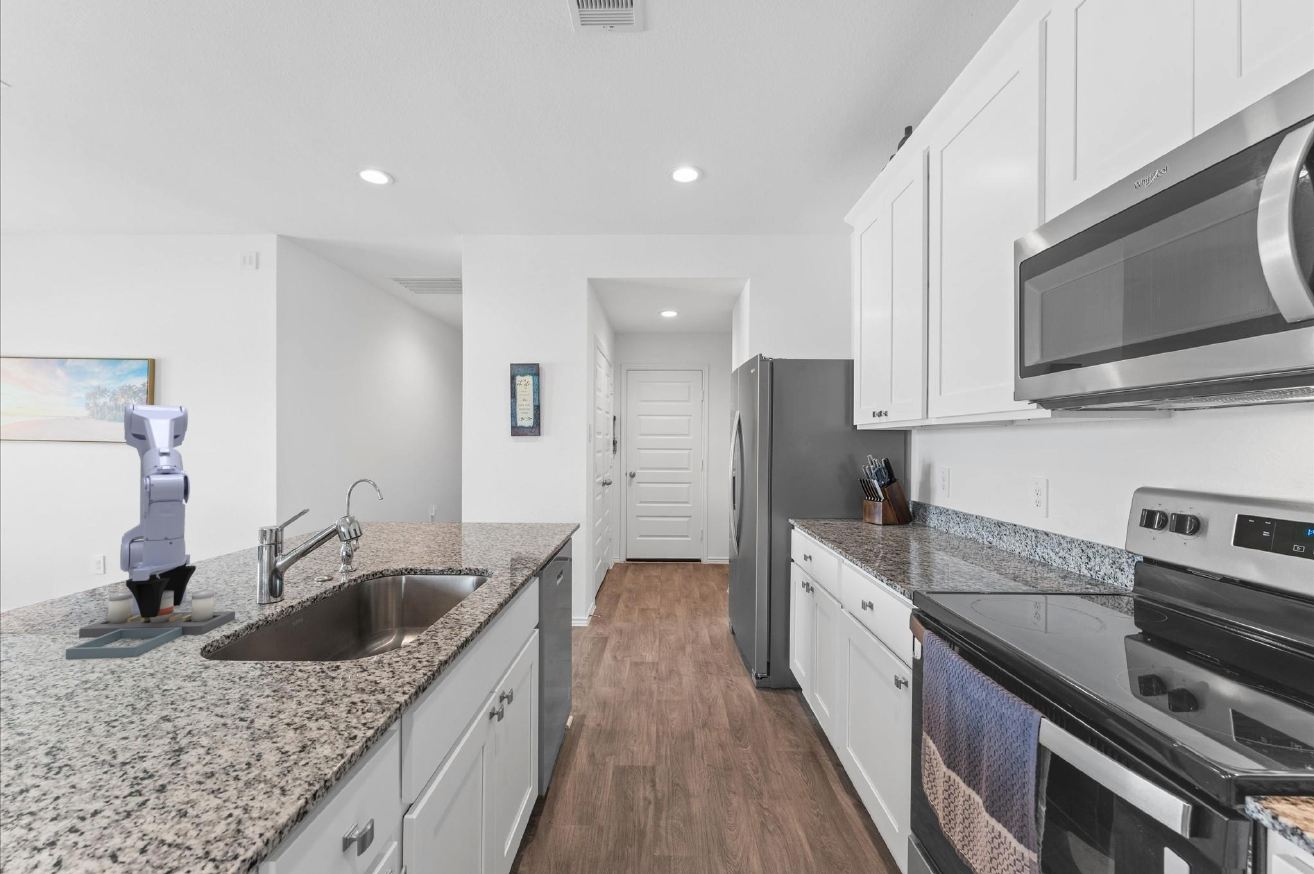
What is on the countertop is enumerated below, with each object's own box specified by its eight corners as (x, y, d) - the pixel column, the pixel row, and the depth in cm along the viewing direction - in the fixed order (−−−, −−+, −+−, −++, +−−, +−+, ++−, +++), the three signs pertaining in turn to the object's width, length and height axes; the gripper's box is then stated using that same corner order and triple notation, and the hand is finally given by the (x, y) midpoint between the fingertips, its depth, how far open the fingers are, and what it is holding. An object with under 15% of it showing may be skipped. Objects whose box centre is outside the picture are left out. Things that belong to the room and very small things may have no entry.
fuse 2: (198, 624, 104) (199, 589, 104) (217, 623, 104) (218, 589, 104) (186, 629, 101) (187, 594, 101) (205, 629, 101) (206, 594, 101)
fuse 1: (117, 626, 102) (119, 591, 102) (136, 625, 103) (137, 590, 103) (102, 631, 99) (103, 595, 99) (122, 631, 99) (123, 595, 100)
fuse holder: (122, 626, 105) (123, 610, 105) (234, 623, 107) (235, 608, 107) (78, 643, 96) (79, 625, 96) (201, 639, 98) (202, 622, 98)
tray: (120, 642, 96) (120, 628, 96) (181, 641, 97) (182, 627, 97) (65, 665, 86) (66, 649, 86) (134, 663, 87) (135, 647, 88)
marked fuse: (158, 625, 103) (159, 590, 103) (177, 624, 103) (178, 590, 104) (144, 630, 100) (145, 595, 100) (163, 630, 100) (165, 594, 100)
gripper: (160, 533, 108) (158, 602, 107) (111, 545, 94) (109, 624, 94) (203, 532, 110) (201, 599, 109) (161, 543, 96) (159, 621, 96)
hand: (161, 611), depth 102 cm, fingers open, 7 cm apart
